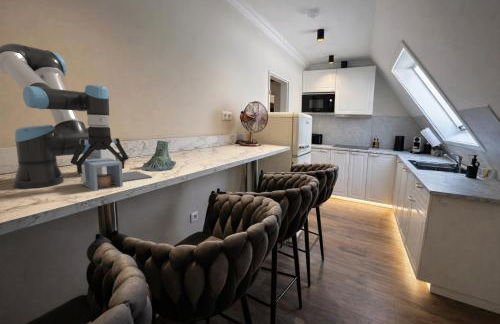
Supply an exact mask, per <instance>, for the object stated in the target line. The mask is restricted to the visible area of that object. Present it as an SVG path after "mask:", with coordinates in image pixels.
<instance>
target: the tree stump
mask: <svg viewBox="0 0 500 324" xmlns="http://www.w3.org/2000/svg"><path fill="white" fill-rule="evenodd" d="M176 165H177V161H174V160H172V158H171V157H170V154H169V142H168V141H164V140H157V141H156V148H155V152H154V154H153V155H151V158H150V159H149V160H148V161H146V162H143V164H142V165H141V166H142V167H141V168H140V170H142V171H145V172H166V171H170V170H172V169H173V168H174V167H175V166H176Z"/></svg>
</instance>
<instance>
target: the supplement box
mask: <svg viewBox="0 0 500 324" xmlns="http://www.w3.org/2000/svg"><path fill="white" fill-rule="evenodd" d="M110 146H111V147H112V148H113V149H114V150H115V146H116V145H115V144H114V143H113V142H112V143H111V144H110ZM102 158H110V159H113V160H116V157H115V156H114V155H113V154H112V153H111V152H110V151H109V150H108V149H106V150H94V151H93V152H92V153H91V154H90V155H89V157H88V158H87V159H86V160H89V159H102ZM96 169H97V174H107V169H106V166H105V167H96Z"/></svg>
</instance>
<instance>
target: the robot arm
mask: <svg viewBox="0 0 500 324" xmlns="http://www.w3.org/2000/svg"><path fill="white" fill-rule="evenodd" d="M0 70H1V71H2V72H4V73H6V74H8V75H9V77H10V78H12V80H14V82H15V83H16V84H17V85H18V86H19V88H21V90H22V99H23V101H24V104H25V106H27V107H28V108H30V109H38V110H50V111H49V112H50V113H51V115H52V118H53V120H54V123H55V124H54V125H53V124H39V125H36V124H35V125H26V126H21V127H18V128H16V130H15V133H14V137H15V139H14V142H15V146H16V155H17V163H18V166H17V170H16V174H15V176H14V181H13V183H14V187H15V188H19V189H35V188H37V189H38V188H46V187H52V186H55V185H58V184H59V185H60V184H62V183H64V181H65V179H64V178H65V177H64V174H63V173H62V171H61V169H60V167H59V165H58V161H57V157H63V156H72V157H71V160H70V163H71V164H72V165H76V170H77V174H80V182H81V183H83V182H86V181H85V168H84V165H82V164H83V162H84V161H85V160H87V158H88V157H89V155H90V154H91V153H92V152H93V151H94V150H106V149H108V150H109V151H110V152H111V153H112V154H113V155H114V156H115V157H116V158H117V159H119V160H120V161H119V162H122V170H123V169H125V167H124V161H125V160H127V161H128V160H129V155H128V156H127V154H128V153H126V151H125V149H124V148H123V146H122V145H121V141H120V138H118V137H114V138H112V137H111V136H112V135H111V128H110V125H111V122H110V121H111V119H110V104H109V103H110V102H109V101H110V99H109V92H108V90H109V89H108V88H107V87H106V86H103V85H95V84H86V85H85V87H84V91H79V90H77V91H75V90H69V89H66V87H65V84H64V82H63V79H64V77H65V76H66V73H67V68H66V62H65V60H64V59H63V56H61V55H60V54H58V53H57V52H56V51H55V52H54V51H51V50H49V49H48V50H47V49H40V48H37V47H33V46H29V45H28V46H27V45H23V44H18V43H5V44H2V45H0ZM76 111H78V112H86V119H87V121H86V122H87V125H88V127H86V125H85V123H84V121H82V120H80V119H79V118H78V115H77V114H76ZM111 143H114V144H115V146H116V147H117V148H118V150H119V152H120V153H121V155H122V157H121V156H120V155H119V154H118V153H117V152H116V151H115V150H114V149H113V148H112V147H111V146H110V144H111ZM122 177H123V176H122Z"/></svg>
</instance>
